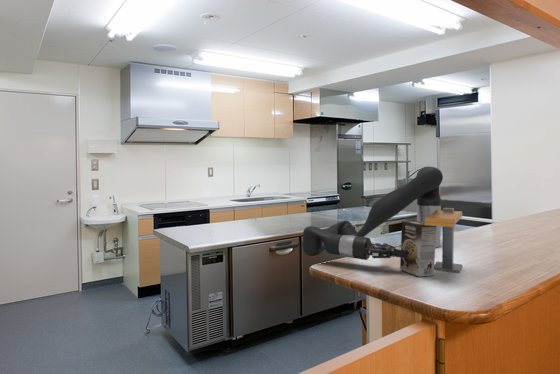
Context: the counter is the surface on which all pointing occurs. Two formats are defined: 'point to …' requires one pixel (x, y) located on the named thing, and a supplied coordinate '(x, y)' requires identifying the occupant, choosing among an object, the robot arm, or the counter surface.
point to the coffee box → (418, 248)
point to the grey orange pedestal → (446, 237)
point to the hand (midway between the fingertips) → (406, 254)
